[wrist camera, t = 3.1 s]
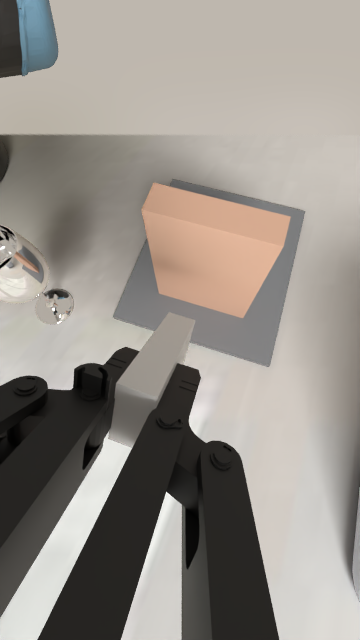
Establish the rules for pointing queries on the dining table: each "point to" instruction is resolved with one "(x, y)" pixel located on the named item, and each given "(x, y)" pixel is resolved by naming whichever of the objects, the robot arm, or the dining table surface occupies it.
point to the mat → (210, 325)
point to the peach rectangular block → (210, 247)
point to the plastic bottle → (357, 554)
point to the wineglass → (29, 278)
